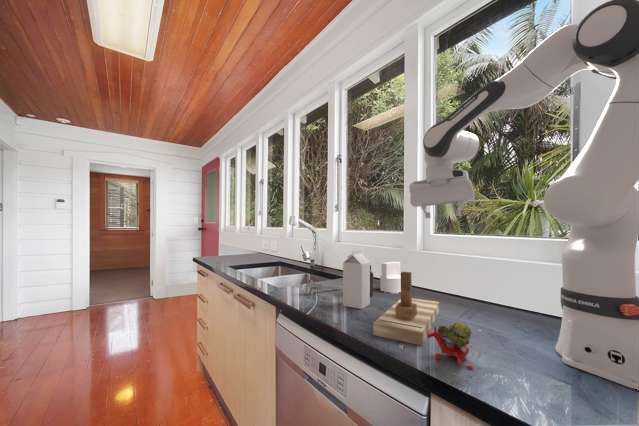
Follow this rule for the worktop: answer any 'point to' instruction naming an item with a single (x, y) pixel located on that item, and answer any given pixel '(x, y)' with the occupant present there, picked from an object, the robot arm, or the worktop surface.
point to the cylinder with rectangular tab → (391, 277)
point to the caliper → (319, 287)
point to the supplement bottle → (371, 282)
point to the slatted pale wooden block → (407, 323)
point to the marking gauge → (406, 299)
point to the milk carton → (356, 281)
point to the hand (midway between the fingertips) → (442, 216)
